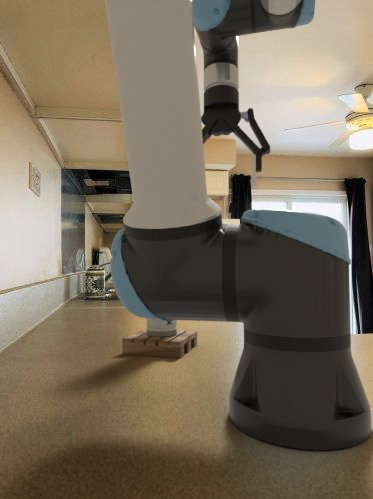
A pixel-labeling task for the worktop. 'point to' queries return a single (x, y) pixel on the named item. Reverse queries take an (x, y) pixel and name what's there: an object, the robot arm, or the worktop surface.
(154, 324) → the travel mug
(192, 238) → the robot arm
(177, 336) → the pallet dock
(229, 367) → the worktop surface
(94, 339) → the worktop surface
